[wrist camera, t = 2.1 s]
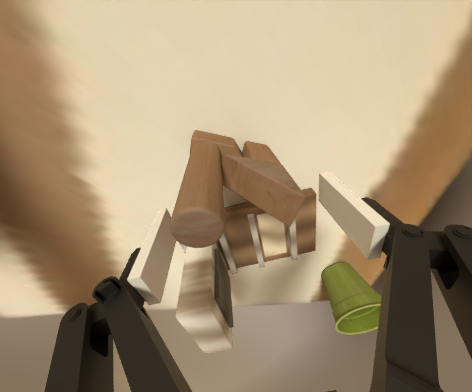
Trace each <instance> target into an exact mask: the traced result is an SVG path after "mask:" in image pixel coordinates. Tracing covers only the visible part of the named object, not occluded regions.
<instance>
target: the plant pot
mask: <svg viewBox="0 0 472 392" xmlns="http://www.w3.org/2000/svg"><path fill="white" fill-rule="evenodd" d="M322 279H323V282H324V285H325V288H326V291H327V294H328V297H329V300H330V303H331V306H332V310H333V315H334V319H335V322H336V323H335V329H336V331H338V332H340V333H342V334H360V333H365V332H369V331H371V330H374V329H377V328H378V324H379V315H380V306H381V298H382V297H381V296H380V295H378V294H377V293H376V292H375V291H374V290H373V289H372V288H371V287H370V285H369V284H368V283H367V282H366V281H365V280H364V279H363V278H362V277H361V276H360V275H359V274H358V273H357V272H356V271H355V269H354V268H353V267H352V266H351V265H350V264H348V263H345V262H339V263H335V264H333V265H332V266H330V267H327V268H326V269H324V271H323V272H322Z"/></svg>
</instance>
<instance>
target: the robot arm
mask: <svg viewBox="0 0 472 392" xmlns="http://www.w3.org/2000/svg"><path fill="white" fill-rule="evenodd" d="M319 201H320V203H321V204H322V205H323V206H324V208H325V209H326V210H327V211H328V212H329V214H330V215H331V216H332V217H333V219H334V220H335V221H336V222H337V223H338V225H339V226H340V227H341V228H342V230H343V231H344V232H345V233H346V235H347V236H348V237H349V238H350V239H351V241H352V242H353V243H354V244H355V246H356V247H357V248H358V249H359V250H360V252H361V253H362V254H363V255H364V257H365V258H366V259H367V260H370V259H375V258H380V256H381V253H382V251H383V252H384V253H385V254H386V255H387V257H386V261H385V264H384V267H383V268H385V271H384V281H383V289H382V298H381V306H380V315H379V324H378V332H377V341H376V350H375V359H374V367H373V376H372V383H371V387H370V391H369V392H443V390H442V389H441V388H440V385H439V381H438V369H437V354H436V340H435V327H434V313H433V299H432V285H431V271H430V269H431V270H432V273H433V275H434V277H435V279H436V281H437V284H438V285H439V288H440V290H441V292H442V295H443V297H444V299H445V301H446V303H447V306H448V308H449V310H450V312H451V314H452V317H453V319H454V321H455V323H456V325H457V328H458V330H459V332H460V334H461V336H462V339H463V341H464V343H465V345H466V347H467V350H468V352H469V354H470V356H471V358H472V228H469V227H466V226H463V225H448V226H446V227H445V228H444V230H443V232H434V231H432V232H431V231H424V230H423V229H421V228H420V227H418V226H415V225H411V224H404V223H403V222H401V221H400V220H399V219H398V218H396V217H395V216H394V215H393V214H391V213H390V212H389V211H387V210H386V209H385V208H384V207H382V206H381V205H380V204H379V203H377V202H376V201H375V200H372V199H370V198H367V197H366V198H361V199H360V198H359V197H358V196H357V195H356V194H355V193H353V192H352V191H351V190H350V189H349V188H348V187H346V186H345V185H344V184H343V183H342V182H341V181H339V180H338V179H337V178H336V177H335V176H334V175H332V174H331V173H330V172H329V171H327V172H323V173H319ZM170 221H171V216H170V214H169V212H168V210H167V208H165V209H161V210H158V211H157V213H156V216H155V218H154V220H153V222H152V225H151V227H150V229H149V231H148V234H147V236H146V238H145V240H144V243H143V245H142V247H141V248H137V249H136V250H135V251H134V252H133V253H132V254H131V256H130V258H129V260H128V262H127V264H126V267H125V269H124V271H123V273H122V275H121V277H120V279H119V280H118V279H117V278H116V277H112V276H111V277H108V278H106V279H104V280H103V281H101V282H100V283H99V284H98V285H97V286H96V287H95V289H94V291H93V297H94V298H95V299H96V300H97V301H98V302H97V303H95V304H93V305H91V306H88V305H87V304H85V303H80V304H77V305H75V306H74V307H72V308H71V309H70V310H69V311H68V312H67V313H66V314H65V315H64V316H63V318H62V320H61V322H60V326H59V331H58V335H57V339H56V344H55V348H54V352H53V357H52V361H51V366H50V370H49V374H48V379H47V383H46V387H45V392H113V391H114V389H113V339H114V342H115V345H116V348H117V351H118V354H119V356H120V360H121V363H122V365H123V368H124V371H125V374H126V377H127V380H128V383H129V386H130V389H131V391H132V392H192V391H191V389H190V387H189V385H188V384H187V382H186V380H185V378H184V377H183V375H182V373H181V371H180V369H179V368H178V366H177V364H176V363H175V361H174V359H173V357H172V355H171V354H170V352H169V350H168V349H167V347H166V345H165V343H164V341H163V340H162V338H161V336H160V334H159V333H158V331H157V329H156V327H155V326H154V324H153V322H152V320H151V319H150V317H149V315H148V313H147V311H146V310H145V308H144V307H143V305H144V302H145V301H146V302H147V303H148V304H149V305H152V304H157V303H161V299H162V295H163V291H164V287H165V283H166V279H167V275H168V271H169V267H170V263H171V259H172V255H173V251H174V247H175V243H176V239H175V238H174V237H173V235H172V233H171V230H170ZM328 392H336V390H334V391H328Z"/></svg>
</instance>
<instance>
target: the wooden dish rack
mask: <svg viewBox="0 0 472 392" xmlns="http://www.w3.org/2000/svg"><path fill="white" fill-rule="evenodd" d="M301 191H302V192H303V193H304V195H305V199H304V201H303V203H302V205H301V207H300V209H299V211H298V213H297V215H296V217H295V219H294V221H293V223H292V225H291V227H289V226H287V225H286V224H284V223H283V222H281V221H279V220H278V219H276V218H275V217H273V216H271V215H270V214H268V213H267V212H265V211H264V210H262V209H260V208H259V207H257V206H256V205H254V204H252V203H251V202H248V203H244V204H240V205H235V206H231V207H227V208H224V213H225V231H224V233H223V235H222V237H221V238H220V239H219V240H218V241H217V242H216V243H215V244H213V245H211V246H208V247H204V248H192V247H187V246H185V245H183V244H181V243H180V245H181V247H182V249H183V250H184V252H185V254H186V255H185V262H184V268H183V274H182V280H181V287H180V293H179V299H178V305H177V312H176V318H177V320H178V321H179V322H180V323H181V324H182V326H183V327H184V328H185V330H187V332H188V333H189V335H190V336H191V337H192V338H193V339H194V341H195V342H196V343H197V344H198V346H199V347H200V348H201V349H202V351H203V352H204V353H205V354H208V353H213V352H218V351H223V350H227V349H232V348H233V345H232V329H231V327H233V316H232V301H231V288H230V277H229V275H228V270H230V269H231V272H232V274H233V273H237V268H239V267H243V266H248V265H253V264H257V263H259V267H265V266H264V262H266V261H271V260H275V259H280V258H284V257H289V256H291V258H292V260H297V259H298V257H297V255H298V254H302V253H307V252H312V251H315V237H316V193H315V192H314V191H313V190H312V188H308V189H304V190H301Z"/></svg>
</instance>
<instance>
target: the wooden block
mask: <svg viewBox="0 0 472 392" xmlns="http://www.w3.org/2000/svg"><path fill="white" fill-rule="evenodd" d="M223 185H224V186H225V187H227V188H229V189H230V190H232V191H233V192H235V193H237V194H238V195H240V196H241V197H243V198H244V199H246V200H248V201H249V202H251V203H252V204H254V205H256V206H257V207H259V208H260V209H262V210H264V211H265V212H267V213H268V214H270V215H271V216H273V217H275V218H276V219H278V220H279V221H281V222H283V223H284V224H286V225H287V226H289V227H291V225H292V223H293V221H294V219H295V217H296V215H297V213H298V211H299V209H300V207H301V205H302V203H303V201H304V199H305V195H304V193H303V192H302V191H301V189H300V188H299V187H298V185H297V184H296V183H295V181H294V180H293V179H292V177H291V176H290V175H289V173H288V172H287V171H286V169H285V168H284V167H283V165H281V163H280V162H279V160H278V159H277V158H276V156H275V155H274V154H273V152H272V151H271V150H270V148H269V147H268V146H267V145H263V144H259V143H254V142H249V141H246V142H245V144H244V148H243V151H242V152H241V150H240V148H239V147H238V145H237V144H236V142H235V140H234V139H233V138H230V137H225V136H221V135H216V134H211V133H207V132H202V131H197V130H196V131H194V133H193V136H192V140H191V149H190V157H189V161H188V164H187V167H186V171H185V174H184V177H183V181H182V184H181V188H180V191H179V194H178V198H177V201H176V204H175V208H174V211H173V214H172V218H171V221H170V230H171V233H172V235H173V237H174V238H175V239H176V240H177V241H178V242H179V243H181V244H183V245H185V246H187V247H192V248H204V247H208V246H211V245H213V244H215V243H216V242H217V241H218V240H219V239H220V238H221V237H222V235H223V233H224V231H225V213H224V199H223Z"/></svg>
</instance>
